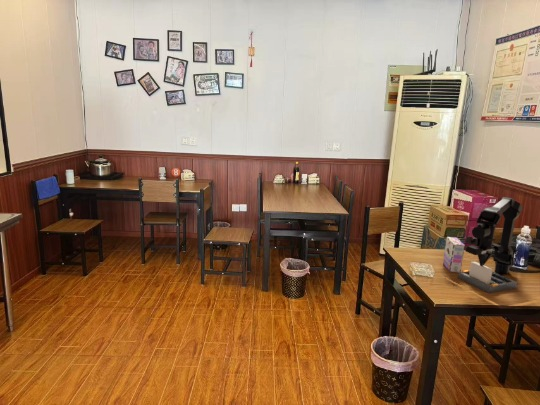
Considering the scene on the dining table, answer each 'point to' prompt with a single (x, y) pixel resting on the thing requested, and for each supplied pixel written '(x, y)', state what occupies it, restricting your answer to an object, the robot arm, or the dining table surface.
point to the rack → (495, 285)
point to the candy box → (453, 254)
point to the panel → (480, 272)
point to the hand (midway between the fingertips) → (481, 265)
